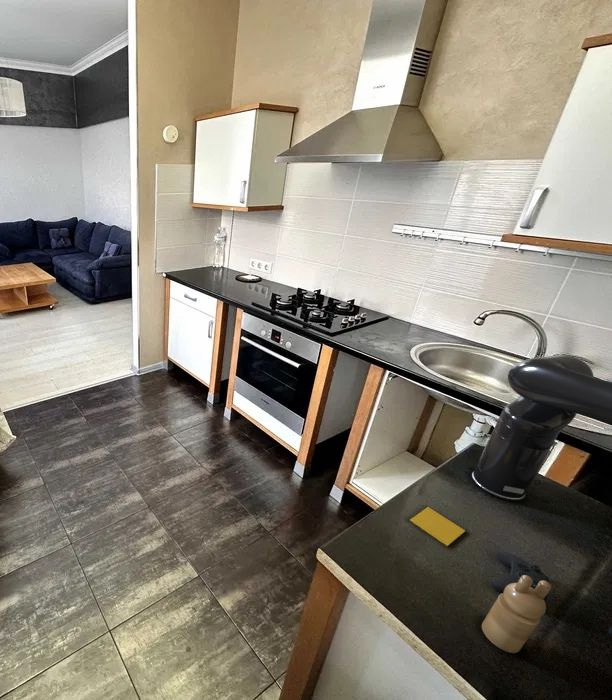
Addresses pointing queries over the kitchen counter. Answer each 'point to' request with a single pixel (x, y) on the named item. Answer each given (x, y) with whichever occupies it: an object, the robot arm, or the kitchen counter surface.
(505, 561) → the game controller
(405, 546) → the kitchen counter surface
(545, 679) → the kitchen counter surface
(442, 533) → the flat yellow rectangular block
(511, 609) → the toy rabbit
